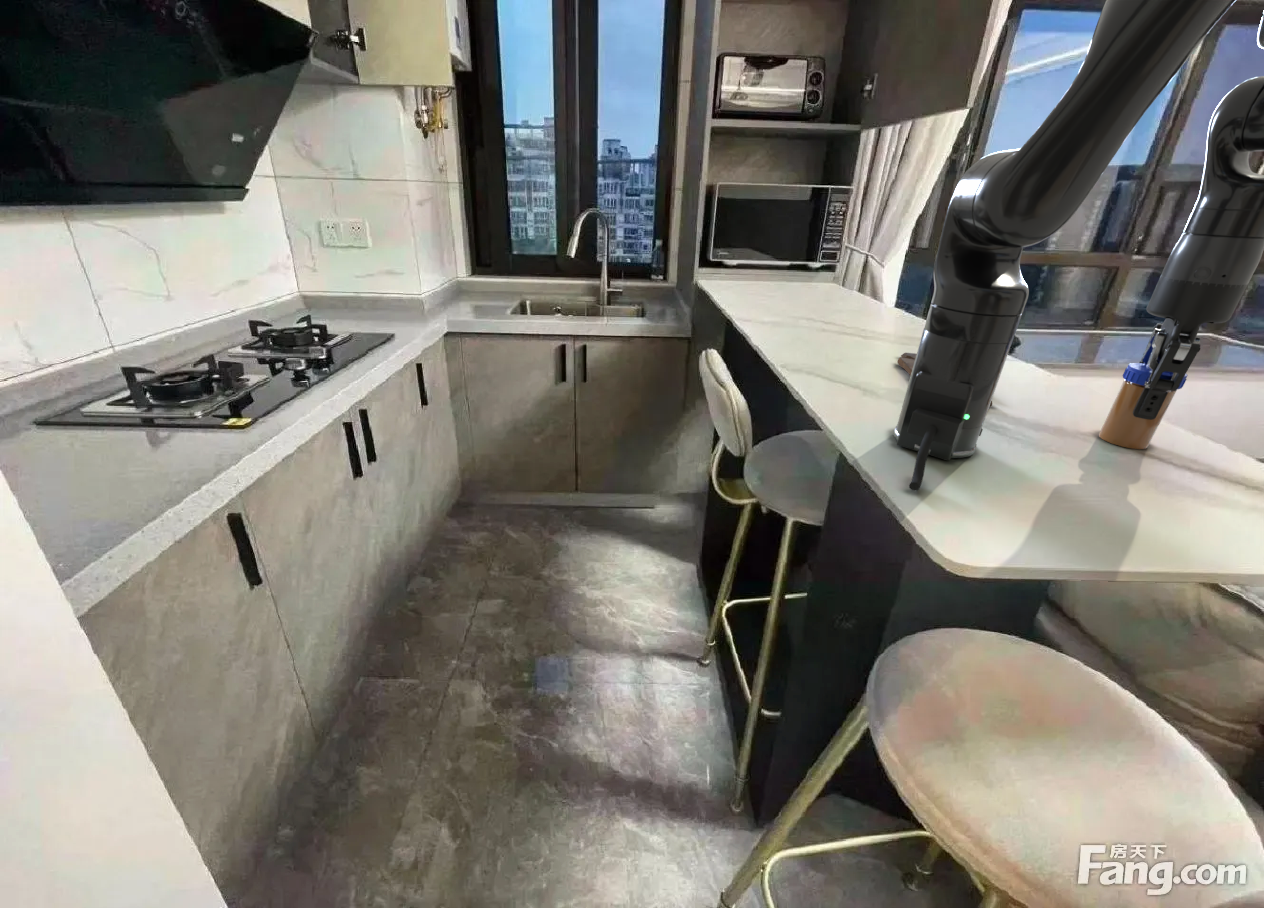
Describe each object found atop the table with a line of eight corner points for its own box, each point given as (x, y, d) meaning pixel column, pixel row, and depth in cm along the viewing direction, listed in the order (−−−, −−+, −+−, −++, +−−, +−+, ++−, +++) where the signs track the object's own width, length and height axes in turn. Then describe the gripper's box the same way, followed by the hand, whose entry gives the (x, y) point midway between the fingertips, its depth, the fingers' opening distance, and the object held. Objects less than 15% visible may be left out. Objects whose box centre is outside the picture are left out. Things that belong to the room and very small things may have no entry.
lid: (1177, 381, 70) (1184, 369, 69) (1185, 393, 66) (1192, 380, 65) (1120, 372, 73) (1125, 360, 72) (1124, 382, 69) (1130, 370, 68)
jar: (1146, 452, 70) (1182, 383, 66) (1096, 440, 73) (1127, 373, 69) (1148, 441, 73) (1182, 374, 69) (1100, 429, 76) (1130, 365, 72)
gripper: (1266, 288, 56) (1187, 436, 64) (1233, 274, 67) (1169, 402, 74) (1171, 279, 60) (1107, 420, 68) (1154, 268, 71) (1100, 390, 78)
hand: (1140, 410), depth 71 cm, fingers closed on lid, 5 cm apart
